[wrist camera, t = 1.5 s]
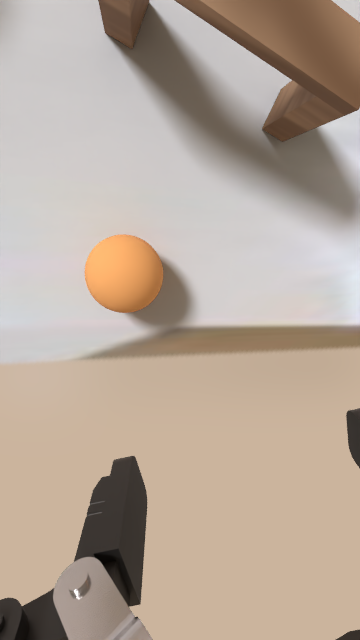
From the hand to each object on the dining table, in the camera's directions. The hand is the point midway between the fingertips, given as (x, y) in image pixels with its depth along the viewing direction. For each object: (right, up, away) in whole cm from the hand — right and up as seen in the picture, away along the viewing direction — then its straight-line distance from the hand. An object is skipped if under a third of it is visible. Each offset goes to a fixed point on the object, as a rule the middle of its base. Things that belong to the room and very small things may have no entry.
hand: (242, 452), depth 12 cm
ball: (-7, +9, +13) cm, 17 cm away
